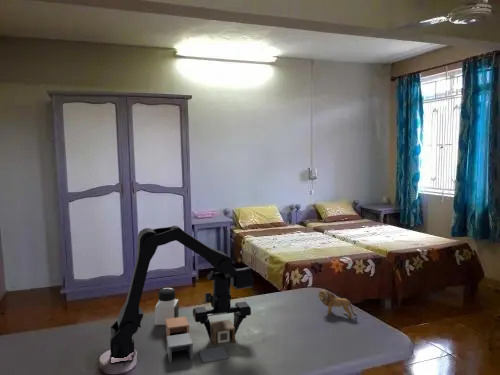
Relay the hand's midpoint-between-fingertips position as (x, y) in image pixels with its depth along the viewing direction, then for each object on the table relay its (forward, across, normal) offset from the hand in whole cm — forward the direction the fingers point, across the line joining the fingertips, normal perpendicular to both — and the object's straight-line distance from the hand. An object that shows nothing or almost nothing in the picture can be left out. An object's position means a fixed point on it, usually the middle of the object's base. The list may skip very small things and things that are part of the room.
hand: (222, 336), depth 132 cm
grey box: (+1, +15, +6) cm, 16 cm away
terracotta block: (+1, +14, -7) cm, 16 cm away
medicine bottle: (+1, +16, -20) cm, 26 cm away
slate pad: (+1, +5, +9) cm, 10 cm away
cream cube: (+1, 0, 0) cm, 1 cm away
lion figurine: (+1, -47, -6) cm, 47 cm away
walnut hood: (+1, 0, 0) cm, 1 cm away
